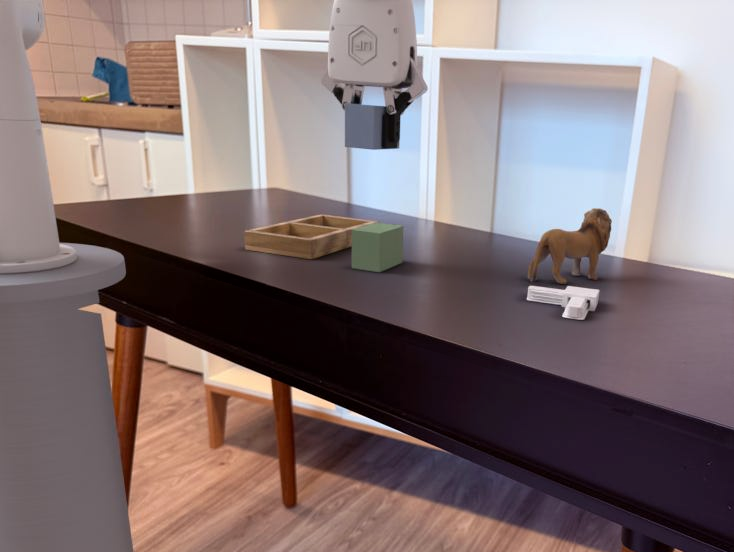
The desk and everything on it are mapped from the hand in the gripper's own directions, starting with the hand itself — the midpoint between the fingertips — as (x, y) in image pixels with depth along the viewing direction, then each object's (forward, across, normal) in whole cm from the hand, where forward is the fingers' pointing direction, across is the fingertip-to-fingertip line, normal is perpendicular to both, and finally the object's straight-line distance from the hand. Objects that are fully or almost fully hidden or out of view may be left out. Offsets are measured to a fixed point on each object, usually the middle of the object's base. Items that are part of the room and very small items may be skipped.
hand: (372, 145), depth 84 cm
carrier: (+15, -13, +7) cm, 21 cm away
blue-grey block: (0, 0, 0) cm, 0 cm away
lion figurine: (+15, +25, +8) cm, 30 cm away
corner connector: (+15, +27, -7) cm, 32 cm away
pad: (+15, +1, 0) cm, 15 cm away
